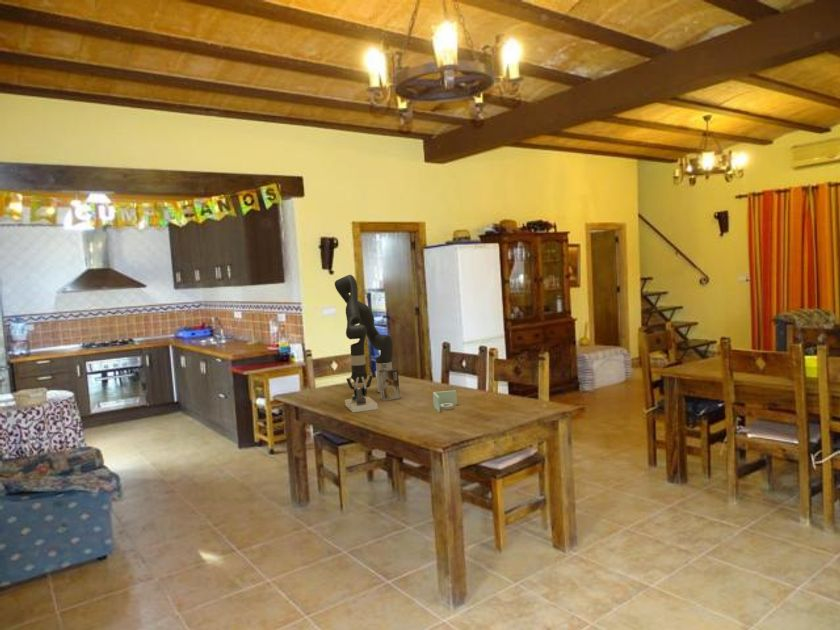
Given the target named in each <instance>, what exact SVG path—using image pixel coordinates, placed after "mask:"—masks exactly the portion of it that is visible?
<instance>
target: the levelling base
mask: <svg viewBox="0 0 840 630" xmlns="http://www.w3.org/2000/svg"><path fill="white" fill-rule="evenodd" d="M364 398H366V402H363V403H357V402H356V399H357V397H355V396H354V394H352V395H351V398H346V399H344V406H345V407H347V409H348V410H349V411H351V413H359V412H366V411H374V410H378V402H376V401H375V400H373V398H371V397H370V396H365V397H364Z"/></svg>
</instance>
